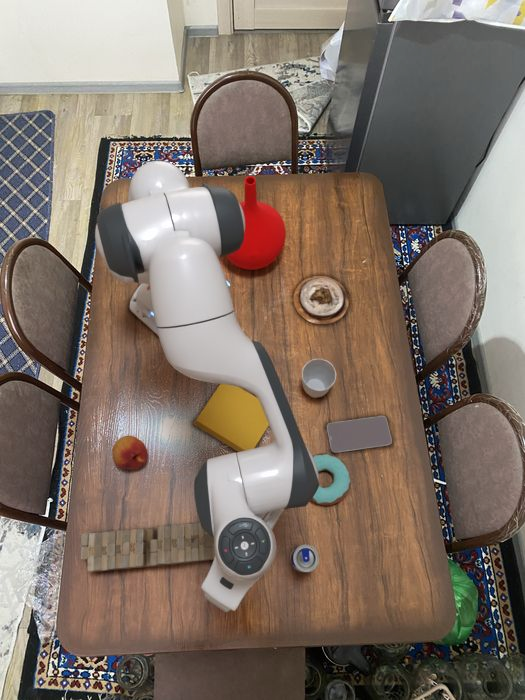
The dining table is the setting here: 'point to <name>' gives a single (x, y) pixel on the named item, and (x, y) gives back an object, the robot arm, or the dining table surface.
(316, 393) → the cup
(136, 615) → the dining table surface
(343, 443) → the smartphone
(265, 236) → the vase
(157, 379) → the dining table surface
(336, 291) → the cake on gold board
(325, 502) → the donut
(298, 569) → the beverage can
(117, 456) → the fruit
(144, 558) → the block tower
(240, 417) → the yellow box
